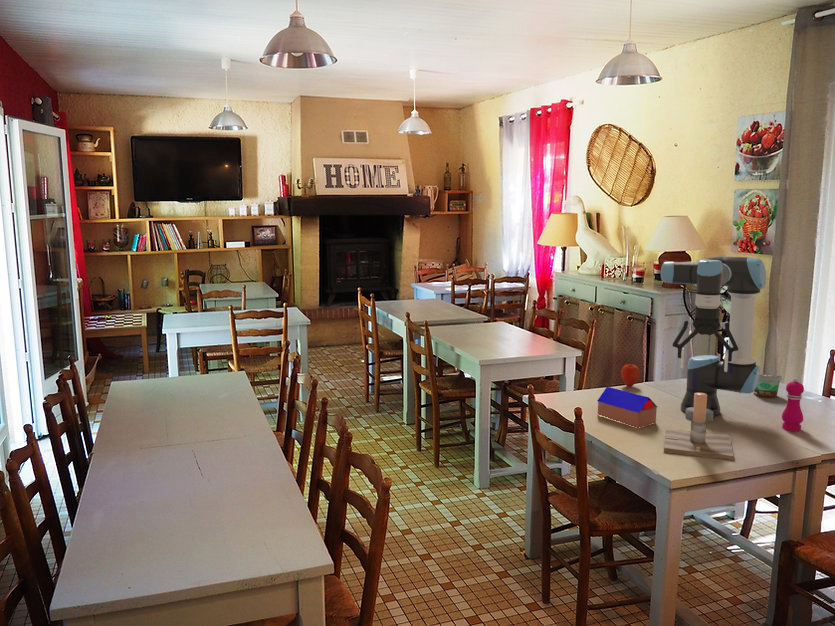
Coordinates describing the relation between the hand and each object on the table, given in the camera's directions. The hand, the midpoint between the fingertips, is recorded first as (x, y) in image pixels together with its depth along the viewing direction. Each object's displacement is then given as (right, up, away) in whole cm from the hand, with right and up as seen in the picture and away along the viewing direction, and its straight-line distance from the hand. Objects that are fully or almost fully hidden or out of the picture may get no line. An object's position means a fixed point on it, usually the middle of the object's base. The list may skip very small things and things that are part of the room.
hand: (703, 369), depth 229 cm
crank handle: (+2, -19, +9) cm, 21 cm away
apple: (+4, -16, +92) cm, 93 cm away
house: (-13, -24, +43) cm, 51 cm away
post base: (+4, -28, +14) cm, 32 cm away
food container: (+59, -19, +74) cm, 97 cm away
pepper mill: (+47, -25, +31) cm, 62 cm away
